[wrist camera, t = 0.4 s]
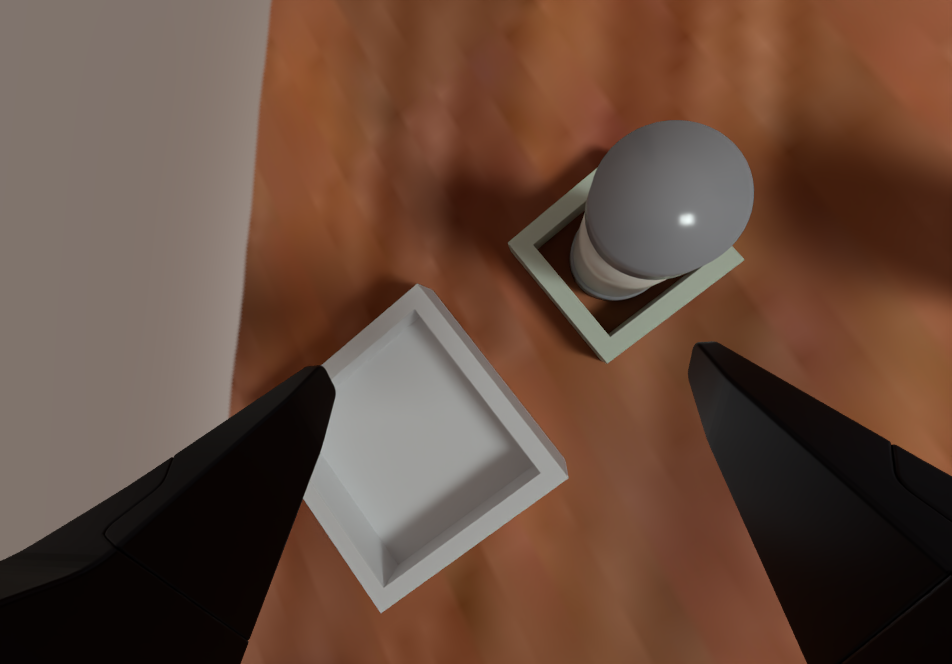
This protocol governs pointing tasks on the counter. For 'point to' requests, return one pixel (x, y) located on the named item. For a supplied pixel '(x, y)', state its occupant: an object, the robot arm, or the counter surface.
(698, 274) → the holder ring
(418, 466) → the parts tray
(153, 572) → the robot arm
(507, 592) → the counter surface
